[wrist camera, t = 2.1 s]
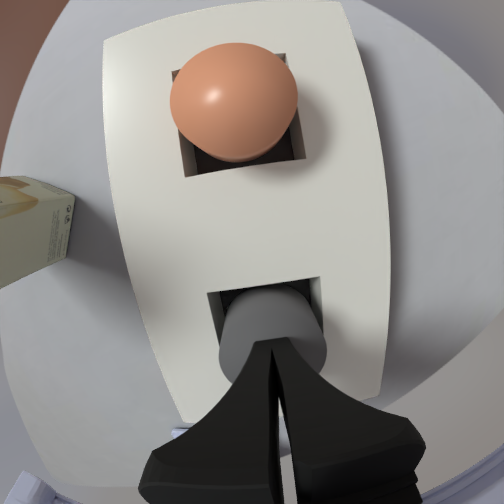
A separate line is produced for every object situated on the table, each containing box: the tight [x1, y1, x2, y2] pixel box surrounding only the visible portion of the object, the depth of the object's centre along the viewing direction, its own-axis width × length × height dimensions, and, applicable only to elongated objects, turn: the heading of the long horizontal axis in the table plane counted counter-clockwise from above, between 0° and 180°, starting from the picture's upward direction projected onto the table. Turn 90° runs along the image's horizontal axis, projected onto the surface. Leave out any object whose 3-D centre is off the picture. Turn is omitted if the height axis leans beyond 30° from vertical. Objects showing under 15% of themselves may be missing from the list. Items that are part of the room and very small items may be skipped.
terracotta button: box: [170, 43, 298, 162], centre depth 9 cm, size 4×4×3 cm
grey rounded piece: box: [219, 283, 327, 384], centre depth 12 cm, size 4×4×3 cm
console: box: [103, 0, 391, 423], centre depth 13 cm, size 22×12×3 cm, turn 9°
